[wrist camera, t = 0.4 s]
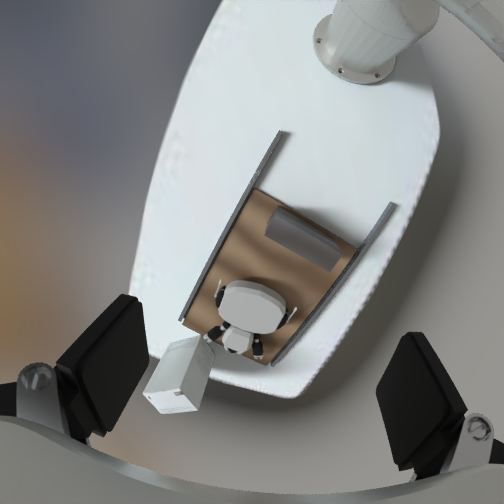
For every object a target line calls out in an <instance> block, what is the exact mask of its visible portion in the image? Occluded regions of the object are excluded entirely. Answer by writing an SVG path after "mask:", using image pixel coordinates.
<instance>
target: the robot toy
mask: <svg viewBox="0 0 504 504" xmlns="http://www.w3.org/2000/svg"><path fill="white" fill-rule="evenodd" d="M221 281H222V279H220V281H219V285H218V288H217V291H216V293H215V295H214V297H216V299H215V302H216V307H217V308H218V310H219V315H220V316H221V317H222V318H223V319H224V320H225V321H224V322H223V325H222V326H215V327H213V328H212V329H211V330H209V331H208V334H205V335H204V336H203V338H204V340H206V339H207V342H212V341H215V340H216V339H218V338H219V337H220V336H221V335H222V333H223V330H225V331H224V334H223V337H222V342H223V344H224V349H225V350H227V351H228V349H229V351H230V352H231V353H235V352H236V354H242V353H243V352H244V351H248V350H249V349H250V348H251V345H252V350H253V356H254V358H255V359H258V357H260V359H262V358H263V356H264V355H263V344H262V342H261V341H260V340H259V339H260V337H261V336H260V334H269V333H272V332H274V331H275V330H276V329H280V328H281V327H282V326H284V325H285V323H288V322H289V319H290V318H291V316H292V315H293V314H294V312H296V310H297V307H295V309H294V311H293V312H292V313H291V315H290V316H289V317H288V309H287V308H286V302H285V300H284V299H283V297H282V296H281V295H280V294H278V293H277V292H275V291H274V290H272V289H270V288H268V287H266V286H264V285H262V284H259V283H254V282H250V281H243V280H236V281H231V282H230V283H229V284H228V285H227V286H223V287H222V288H221V289H220V290H219V291H218V289H219V286H220V284H221ZM253 339H254V340H255V341H254V343H253V344H252V342H253Z"/></svg>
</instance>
